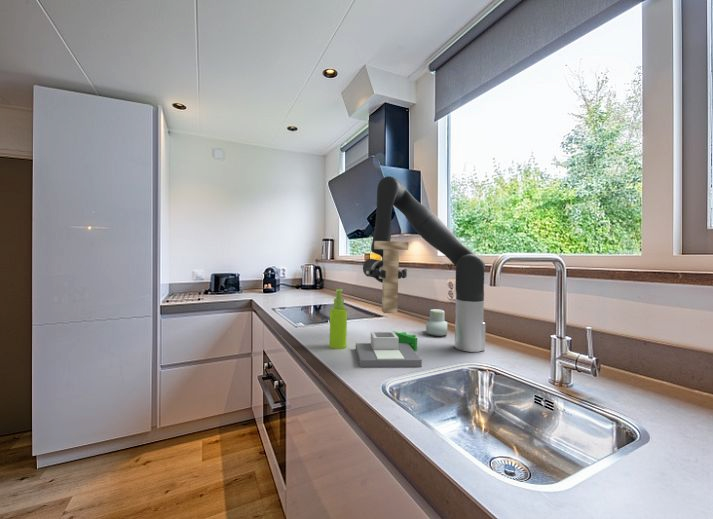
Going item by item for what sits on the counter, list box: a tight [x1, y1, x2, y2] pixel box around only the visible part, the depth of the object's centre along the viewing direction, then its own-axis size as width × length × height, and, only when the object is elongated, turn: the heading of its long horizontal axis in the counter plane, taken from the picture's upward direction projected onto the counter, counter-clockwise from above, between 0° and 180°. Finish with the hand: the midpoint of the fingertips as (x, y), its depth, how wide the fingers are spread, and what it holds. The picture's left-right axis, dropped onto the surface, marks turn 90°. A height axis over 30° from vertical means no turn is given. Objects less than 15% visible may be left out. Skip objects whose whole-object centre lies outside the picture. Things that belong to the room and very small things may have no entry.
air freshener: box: [425, 308, 448, 337], centre depth 129 cm, size 11×8×10 cm
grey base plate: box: [355, 331, 423, 368], centre depth 99 cm, size 18×17×6 cm
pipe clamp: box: [392, 331, 418, 352], centre depth 112 cm, size 11×4×5 cm, turn 38°
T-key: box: [374, 240, 409, 314], centre depth 95 cm, size 10×4×21 cm, turn 94°
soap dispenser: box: [329, 288, 348, 350], centre depth 110 cm, size 6×7×20 cm
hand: (392, 274), depth 92 cm, fingers closed on T-key, 4 cm apart
